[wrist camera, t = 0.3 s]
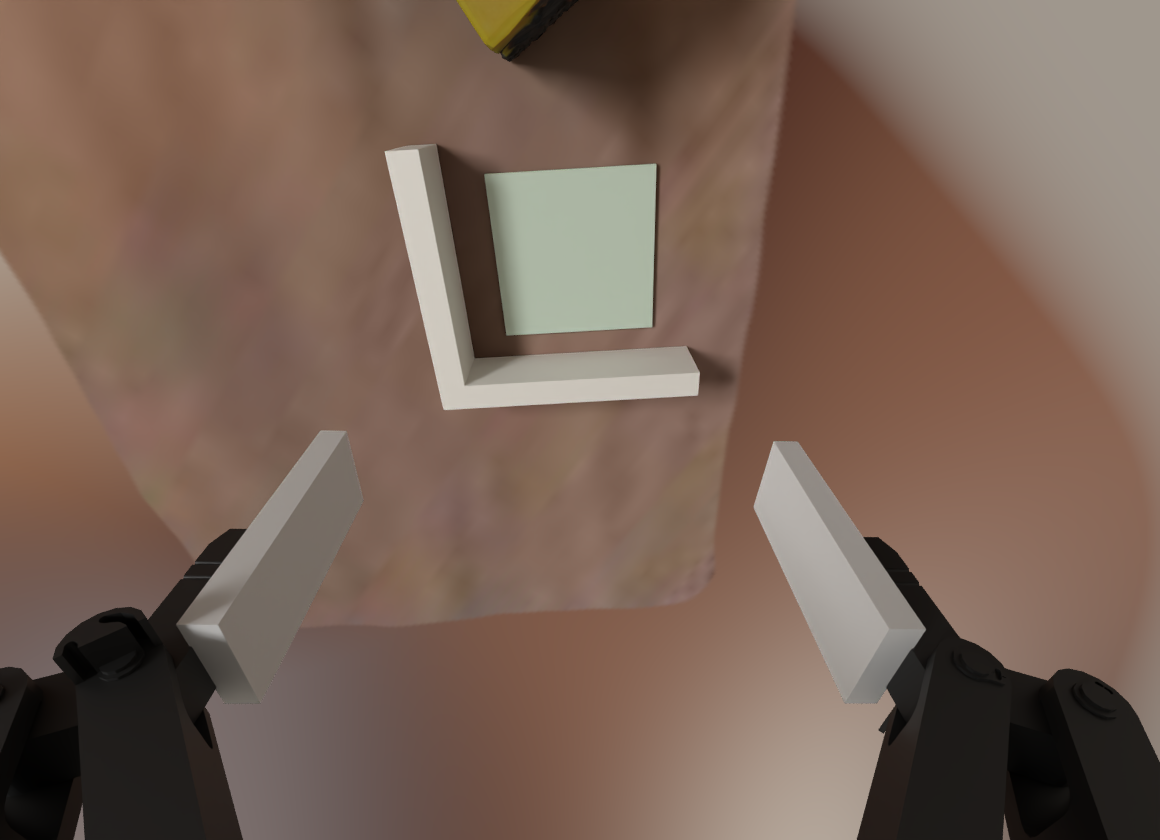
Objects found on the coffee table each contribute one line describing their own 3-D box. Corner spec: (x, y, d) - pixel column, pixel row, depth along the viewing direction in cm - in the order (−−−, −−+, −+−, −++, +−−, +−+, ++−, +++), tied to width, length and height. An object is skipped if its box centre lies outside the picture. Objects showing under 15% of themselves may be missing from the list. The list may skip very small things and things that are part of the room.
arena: (407, 145, 34) (384, 151, 30) (700, 128, 34) (719, 130, 30) (455, 380, 44) (443, 409, 39) (684, 367, 44) (697, 395, 39)
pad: (484, 173, 35) (484, 174, 35) (655, 163, 35) (656, 164, 35) (506, 334, 42) (506, 335, 41) (651, 325, 41) (652, 327, 41)
